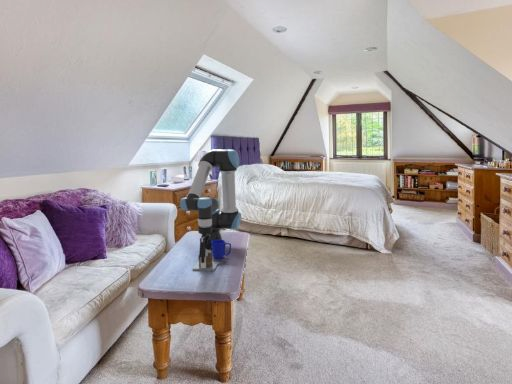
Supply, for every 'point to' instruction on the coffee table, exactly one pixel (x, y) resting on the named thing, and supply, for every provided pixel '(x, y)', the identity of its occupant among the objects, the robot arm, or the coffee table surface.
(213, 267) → the square plate with peg
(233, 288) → the coffee table surface
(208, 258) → the ring
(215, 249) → the mug
